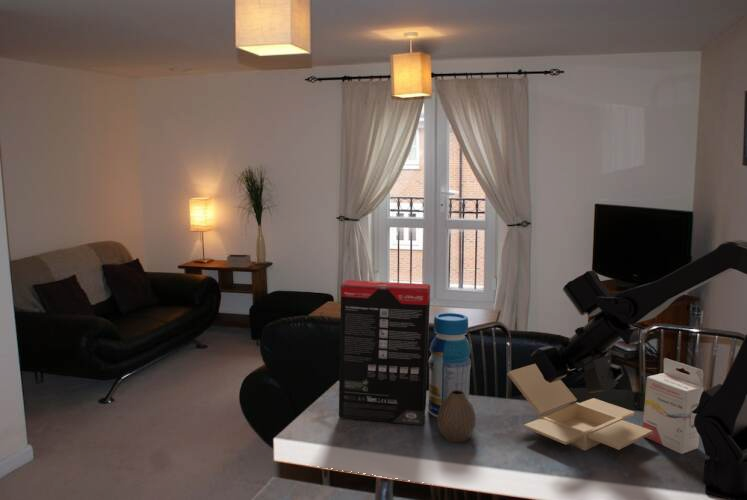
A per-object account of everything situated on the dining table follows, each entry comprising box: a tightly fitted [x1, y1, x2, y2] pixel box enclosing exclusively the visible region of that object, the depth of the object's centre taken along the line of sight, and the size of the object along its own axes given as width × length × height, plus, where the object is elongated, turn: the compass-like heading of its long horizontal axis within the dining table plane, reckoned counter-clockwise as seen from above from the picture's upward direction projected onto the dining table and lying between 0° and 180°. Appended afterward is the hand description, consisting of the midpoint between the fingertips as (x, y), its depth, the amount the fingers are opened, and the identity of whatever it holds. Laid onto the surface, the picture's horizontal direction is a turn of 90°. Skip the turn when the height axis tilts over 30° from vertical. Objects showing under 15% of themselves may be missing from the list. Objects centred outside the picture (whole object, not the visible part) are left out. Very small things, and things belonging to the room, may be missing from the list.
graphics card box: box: [338, 279, 431, 426], centre depth 124 cm, size 17×7×27 cm, turn 82°
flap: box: [506, 363, 578, 416], centre depth 126 cm, size 1×12×10 cm
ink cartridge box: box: [642, 357, 705, 455], centre depth 115 cm, size 9×5×15 cm, turn 29°
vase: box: [437, 390, 476, 443], centre depth 116 cm, size 7×7×9 cm
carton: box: [523, 397, 652, 452], centre depth 117 cm, size 16×22×3 cm
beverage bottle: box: [427, 312, 472, 419], centre depth 127 cm, size 8×8×20 cm
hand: (545, 378), depth 125 cm, fingers closed
